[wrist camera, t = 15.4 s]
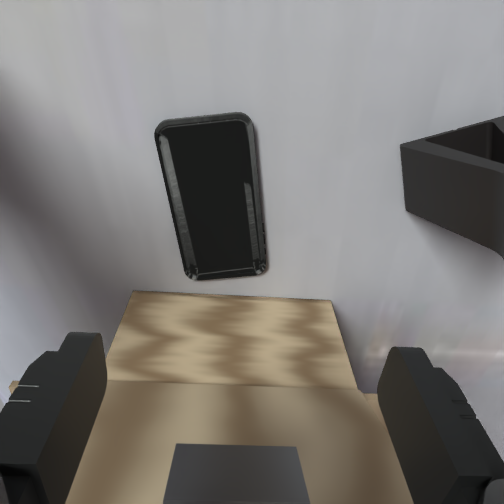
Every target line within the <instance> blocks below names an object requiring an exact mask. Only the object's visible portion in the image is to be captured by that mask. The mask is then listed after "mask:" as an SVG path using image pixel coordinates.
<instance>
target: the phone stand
mask: <svg viewBox="0 0 504 504" xmlns="http://www.w3.org/2000/svg"><path fill="white" fill-rule="evenodd" d="M400 149H401V161H402V173H403V184H404V196H405V208H406V210H407V211H409V212H411V213H413V214H415V215H418V216H420V217H422V218H424V219H426V220H428V221H431V222H433V223H435V224H437V225H439V226H442V227H444V228H446V229H448V230H450V231H453V232H455V233H457V234H459V235H461V236H463V237H466V238H468V239H470V240H472V241H474V242H477V243H479V244H481V245H483V246H485V247H488V248H490V249H492V250H494V251H495V252H497V253H498V254H499V255H500V256H501V257H502V258H503V259H504V116H502V117H498V118H495V119H491V120H487V121H484V122H480V123H476V124H473V125H469V126H465V127H462V128H458V129H457V130H451V131H447V132H444V133H440V134H436V135H433V136H429V137H425V138H422V139H418V140H414V141H411V142H407V143H403V144H401V145H400Z"/></svg>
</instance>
